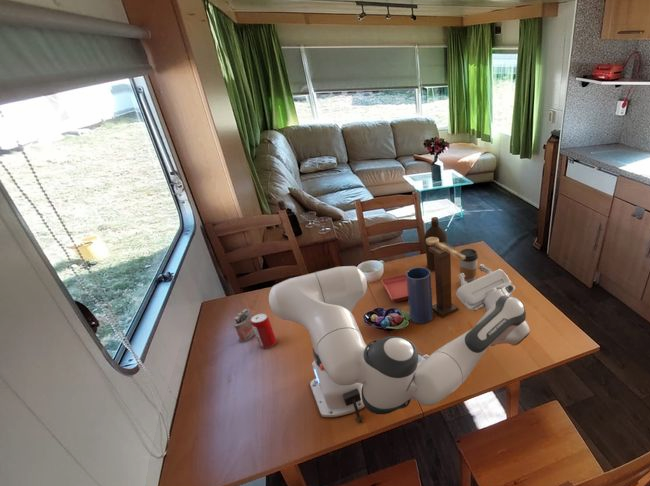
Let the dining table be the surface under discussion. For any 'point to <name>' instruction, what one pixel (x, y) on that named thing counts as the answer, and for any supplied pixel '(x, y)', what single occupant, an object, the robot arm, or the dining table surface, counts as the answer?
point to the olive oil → (434, 232)
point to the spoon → (444, 247)
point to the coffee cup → (469, 264)
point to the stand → (443, 281)
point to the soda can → (263, 330)
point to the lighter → (244, 325)
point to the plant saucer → (396, 287)
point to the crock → (419, 294)
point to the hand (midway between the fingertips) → (470, 269)
